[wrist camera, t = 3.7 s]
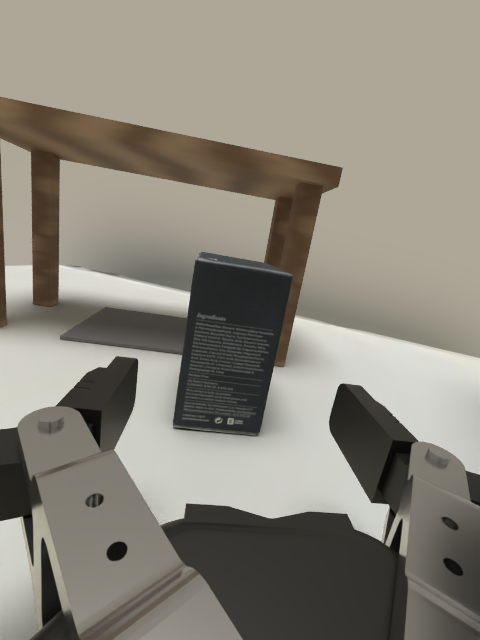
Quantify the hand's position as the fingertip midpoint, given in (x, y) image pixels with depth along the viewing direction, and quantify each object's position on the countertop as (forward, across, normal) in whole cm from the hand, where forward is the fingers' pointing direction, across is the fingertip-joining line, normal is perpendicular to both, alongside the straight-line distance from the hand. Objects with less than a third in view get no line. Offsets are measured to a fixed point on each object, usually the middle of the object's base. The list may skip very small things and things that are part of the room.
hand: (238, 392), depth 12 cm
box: (+10, 0, +6) cm, 11 cm away
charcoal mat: (+24, +8, +6) cm, 26 cm away
